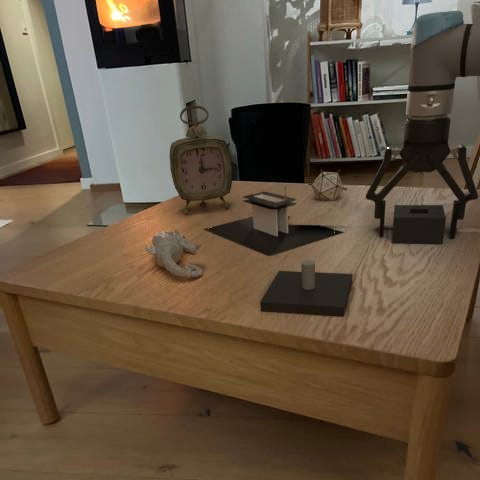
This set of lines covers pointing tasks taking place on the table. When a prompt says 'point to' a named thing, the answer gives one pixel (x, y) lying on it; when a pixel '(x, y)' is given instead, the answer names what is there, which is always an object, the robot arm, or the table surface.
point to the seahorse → (173, 253)
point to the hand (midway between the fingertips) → (415, 235)
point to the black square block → (418, 224)
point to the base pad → (308, 292)
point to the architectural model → (271, 226)
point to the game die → (327, 185)
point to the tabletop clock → (200, 165)
